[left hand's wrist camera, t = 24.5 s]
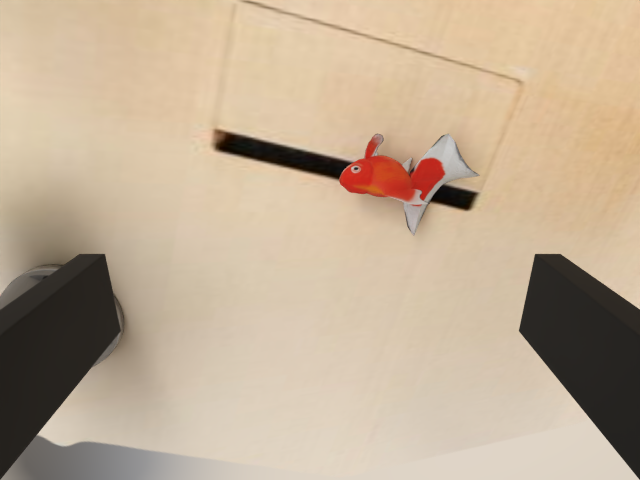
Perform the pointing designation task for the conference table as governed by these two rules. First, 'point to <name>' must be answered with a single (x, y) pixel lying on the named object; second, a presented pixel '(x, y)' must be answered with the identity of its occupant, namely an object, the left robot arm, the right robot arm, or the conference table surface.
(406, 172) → the fish
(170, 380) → the conference table surface
